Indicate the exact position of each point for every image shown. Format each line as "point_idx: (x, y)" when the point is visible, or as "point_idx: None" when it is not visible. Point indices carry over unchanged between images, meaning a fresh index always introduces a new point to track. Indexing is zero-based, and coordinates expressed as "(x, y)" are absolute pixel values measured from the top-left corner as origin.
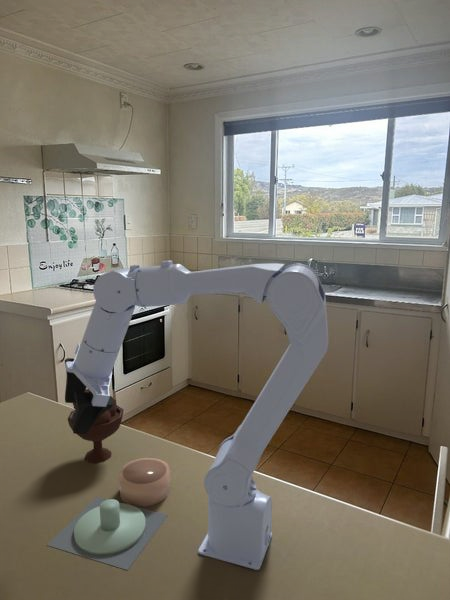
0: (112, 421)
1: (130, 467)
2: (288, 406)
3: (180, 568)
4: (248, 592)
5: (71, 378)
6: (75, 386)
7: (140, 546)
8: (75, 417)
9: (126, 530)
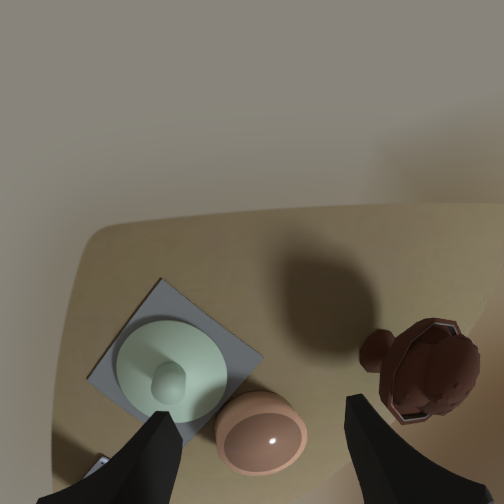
0: (392, 412)
1: (284, 424)
2: None
3: (85, 432)
4: (53, 468)
5: (383, 489)
6: (368, 468)
7: (125, 404)
8: (127, 454)
9: (150, 395)
